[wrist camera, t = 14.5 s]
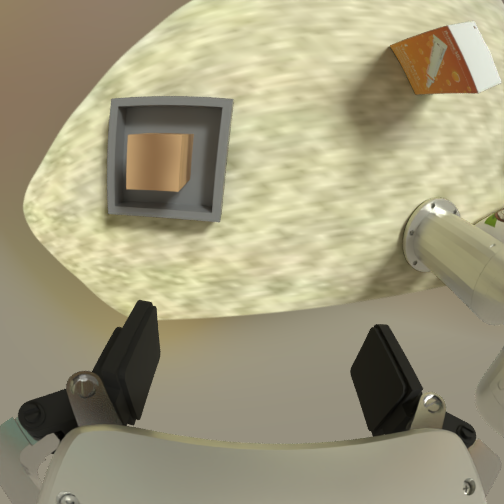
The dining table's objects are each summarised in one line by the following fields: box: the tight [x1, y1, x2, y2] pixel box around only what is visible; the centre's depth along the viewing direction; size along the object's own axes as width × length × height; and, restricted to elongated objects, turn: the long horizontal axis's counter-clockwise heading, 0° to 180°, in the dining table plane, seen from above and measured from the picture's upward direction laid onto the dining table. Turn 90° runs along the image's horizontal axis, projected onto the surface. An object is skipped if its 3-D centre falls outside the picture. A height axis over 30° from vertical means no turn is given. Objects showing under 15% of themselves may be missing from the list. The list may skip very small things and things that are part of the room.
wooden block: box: [126, 133, 194, 192], centre depth 27 cm, size 6×6×7 cm
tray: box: [107, 96, 234, 222], centre depth 30 cm, size 14×14×4 cm
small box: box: [390, 21, 501, 95], centre depth 20 cm, size 8×6×13 cm
